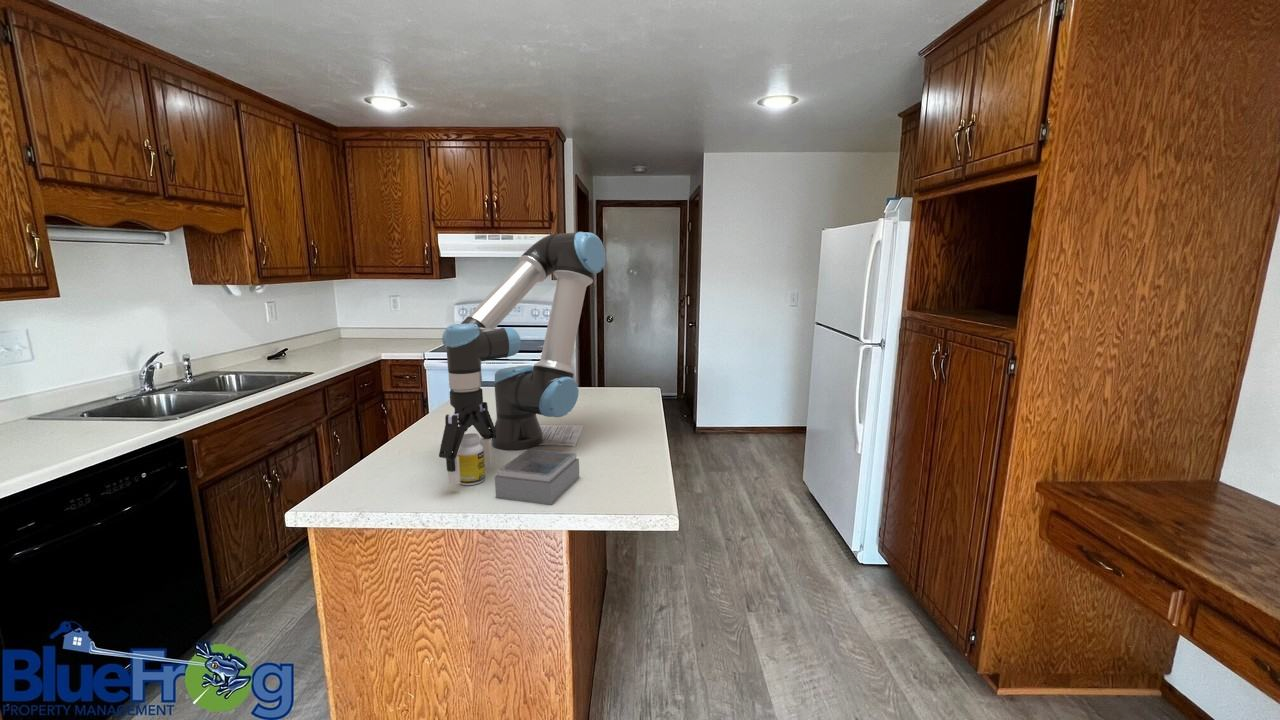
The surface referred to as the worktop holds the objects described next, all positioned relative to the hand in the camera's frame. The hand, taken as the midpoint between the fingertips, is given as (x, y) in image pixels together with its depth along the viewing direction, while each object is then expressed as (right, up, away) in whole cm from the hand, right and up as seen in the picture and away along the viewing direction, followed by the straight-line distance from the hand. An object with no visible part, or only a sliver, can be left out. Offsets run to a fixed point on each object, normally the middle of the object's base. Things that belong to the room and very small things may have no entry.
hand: (471, 472), depth 129 cm
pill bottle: (0, -2, 0) cm, 2 cm away
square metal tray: (+17, -3, -3) cm, 17 cm away
